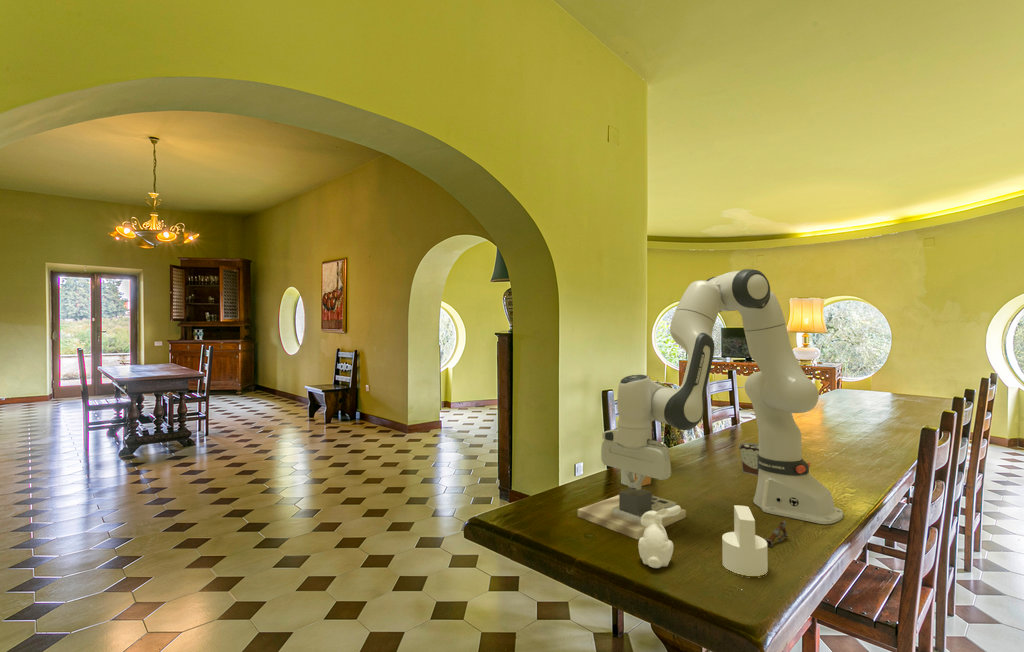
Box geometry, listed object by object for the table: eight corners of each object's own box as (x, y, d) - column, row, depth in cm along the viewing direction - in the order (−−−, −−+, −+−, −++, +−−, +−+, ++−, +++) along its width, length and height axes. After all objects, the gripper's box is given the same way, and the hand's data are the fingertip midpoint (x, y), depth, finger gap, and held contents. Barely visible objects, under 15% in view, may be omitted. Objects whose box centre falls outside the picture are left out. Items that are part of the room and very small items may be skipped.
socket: (676, 511, 137) (676, 502, 137) (641, 527, 127) (640, 517, 127) (648, 503, 144) (648, 494, 144) (612, 516, 134) (612, 507, 134)
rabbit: (639, 547, 120) (639, 497, 120) (680, 552, 118) (680, 501, 118) (637, 571, 109) (636, 515, 109) (682, 577, 106) (682, 520, 106)
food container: (781, 476, 175) (781, 447, 175) (772, 479, 171) (772, 450, 171) (748, 468, 185) (747, 441, 185) (738, 471, 182) (738, 443, 182)
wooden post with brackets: (792, 535, 124) (788, 519, 123) (775, 556, 120) (770, 540, 119) (784, 532, 126) (780, 517, 125) (767, 553, 122) (763, 538, 121)
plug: (657, 514, 135) (656, 489, 135) (636, 522, 129) (636, 497, 129) (639, 508, 139) (639, 484, 139) (619, 516, 133) (619, 491, 133)
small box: (634, 488, 164) (634, 448, 163) (620, 483, 169) (620, 444, 169) (651, 484, 168) (651, 445, 168) (637, 479, 173) (636, 441, 173)
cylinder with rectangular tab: (720, 555, 116) (719, 503, 116) (763, 560, 113) (762, 507, 113) (724, 574, 107) (724, 518, 107) (771, 580, 104) (771, 522, 104)
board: (685, 517, 139) (685, 510, 139) (637, 539, 125) (637, 531, 125) (626, 498, 154) (626, 492, 154) (577, 516, 140) (577, 509, 140)
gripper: (675, 441, 127) (676, 496, 127) (612, 429, 143) (612, 477, 143) (661, 445, 123) (661, 501, 123) (597, 432, 139) (597, 482, 139)
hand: (634, 488), depth 133 cm, fingers closed
